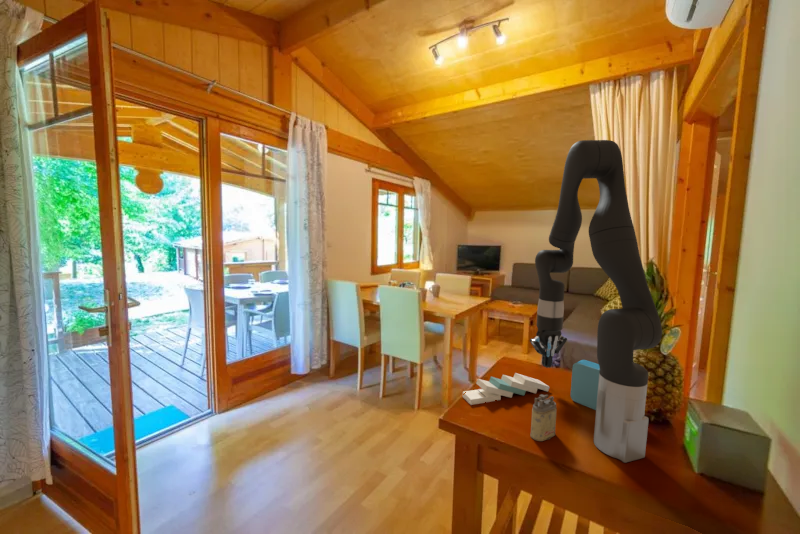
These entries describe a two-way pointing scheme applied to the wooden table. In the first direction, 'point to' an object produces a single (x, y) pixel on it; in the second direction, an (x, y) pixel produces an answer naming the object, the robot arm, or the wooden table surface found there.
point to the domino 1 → (480, 396)
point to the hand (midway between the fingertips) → (546, 366)
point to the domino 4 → (517, 384)
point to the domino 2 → (492, 388)
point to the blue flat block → (585, 383)
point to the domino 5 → (531, 382)
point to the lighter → (543, 418)
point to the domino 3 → (505, 386)
